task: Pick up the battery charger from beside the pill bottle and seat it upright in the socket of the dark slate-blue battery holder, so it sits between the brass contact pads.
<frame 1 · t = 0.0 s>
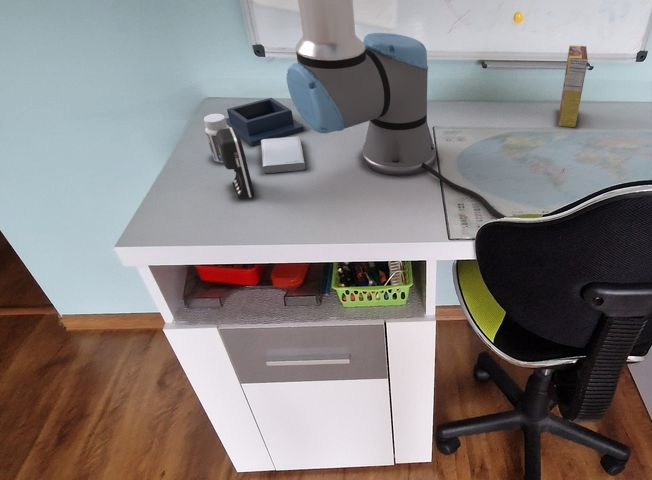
hard drive: (283, 158, 113), on the table
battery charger: (242, 192, 103), on the table
candy box: (566, 120, 132), on the table
holder: (263, 127, 122), on the table
pill bottle: (225, 159, 112), on the table
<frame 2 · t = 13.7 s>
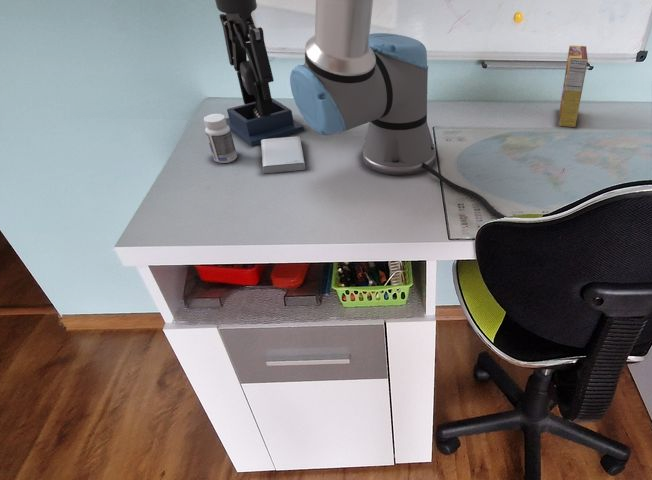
hand: (258, 107, 119), 4 cm above the table, tool pointing down, fingers closed on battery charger, 7 cm apart
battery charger: (260, 118, 121), point 2 cm above the table, touching gripper
everything else where it was.
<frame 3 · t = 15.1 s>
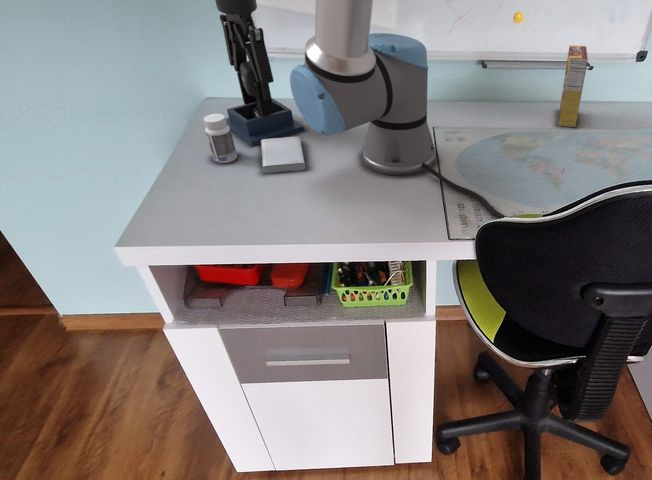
hand: (259, 108, 119), 4 cm above the table, tool pointing down, fingers closed on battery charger, 7 cm apart
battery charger: (260, 119, 121), point 2 cm above the table, touching gripper
everything else where it was.
when the fingers open (6 cm above the table, at t = 22.9 s): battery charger drops 1 cm, resting on holder.
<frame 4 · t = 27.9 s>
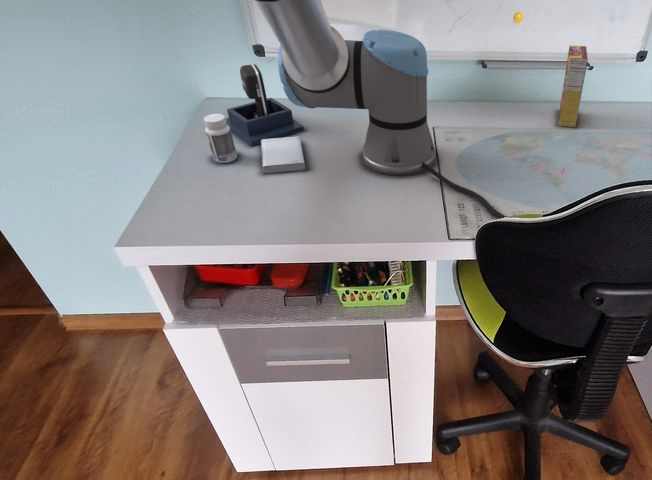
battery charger: (260, 122, 122), point 1 cm above the table, touching holder
everything else where it was.
at the end: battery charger 0.3 cm off-centre on the holder, point 1.0 cm above the holder's base; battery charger tilted 0° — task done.
